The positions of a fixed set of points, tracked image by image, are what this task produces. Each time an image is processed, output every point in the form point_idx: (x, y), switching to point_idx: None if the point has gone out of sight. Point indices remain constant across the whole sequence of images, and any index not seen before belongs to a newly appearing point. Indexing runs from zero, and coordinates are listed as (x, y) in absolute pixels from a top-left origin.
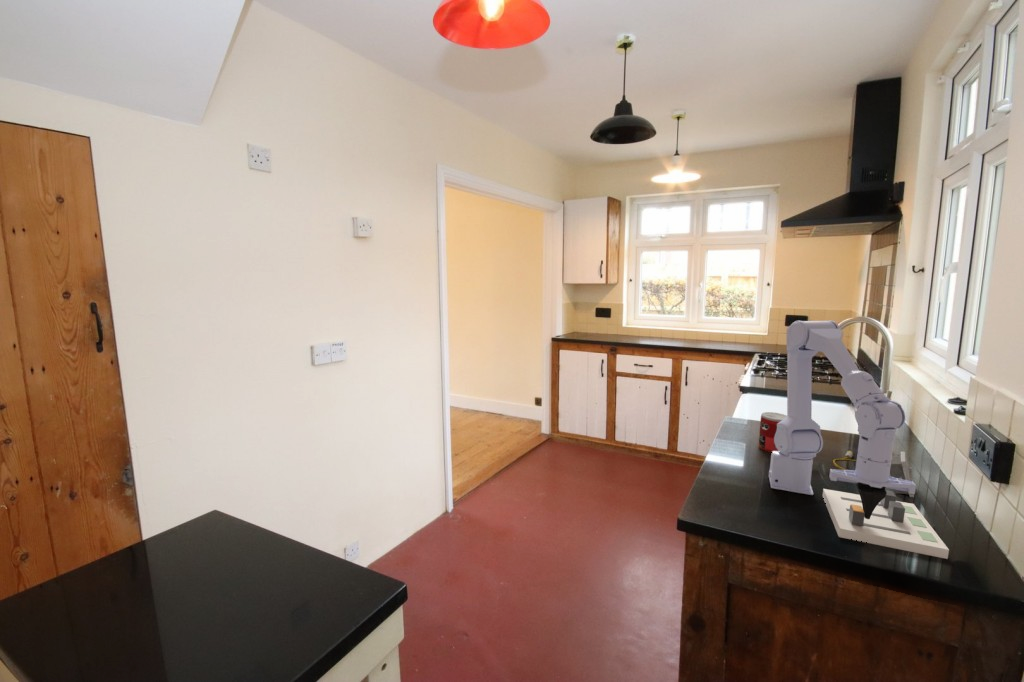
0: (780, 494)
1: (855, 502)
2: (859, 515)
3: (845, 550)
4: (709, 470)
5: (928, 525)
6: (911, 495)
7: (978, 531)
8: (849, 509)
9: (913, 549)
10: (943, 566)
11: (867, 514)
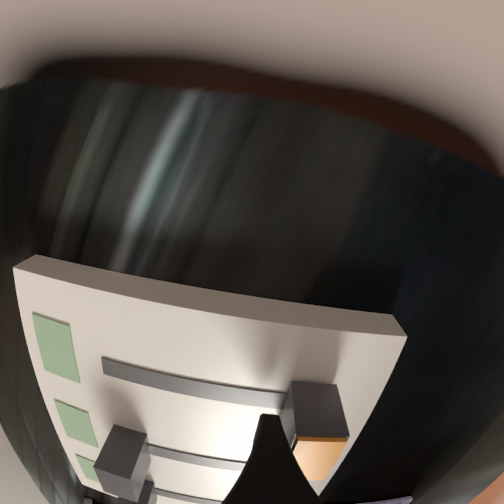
0: (407, 483)
1: None
2: (317, 421)
3: (417, 206)
4: (483, 490)
5: (51, 409)
6: (88, 501)
7: None
8: None
9: (118, 278)
10: (58, 193)
11: (278, 431)
